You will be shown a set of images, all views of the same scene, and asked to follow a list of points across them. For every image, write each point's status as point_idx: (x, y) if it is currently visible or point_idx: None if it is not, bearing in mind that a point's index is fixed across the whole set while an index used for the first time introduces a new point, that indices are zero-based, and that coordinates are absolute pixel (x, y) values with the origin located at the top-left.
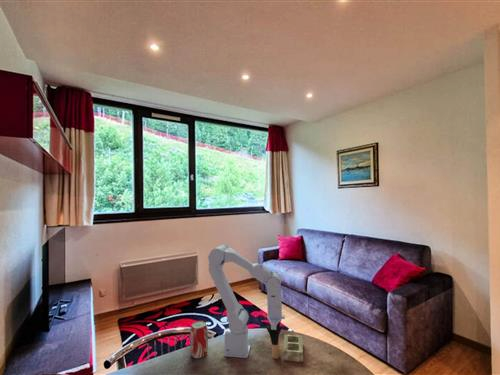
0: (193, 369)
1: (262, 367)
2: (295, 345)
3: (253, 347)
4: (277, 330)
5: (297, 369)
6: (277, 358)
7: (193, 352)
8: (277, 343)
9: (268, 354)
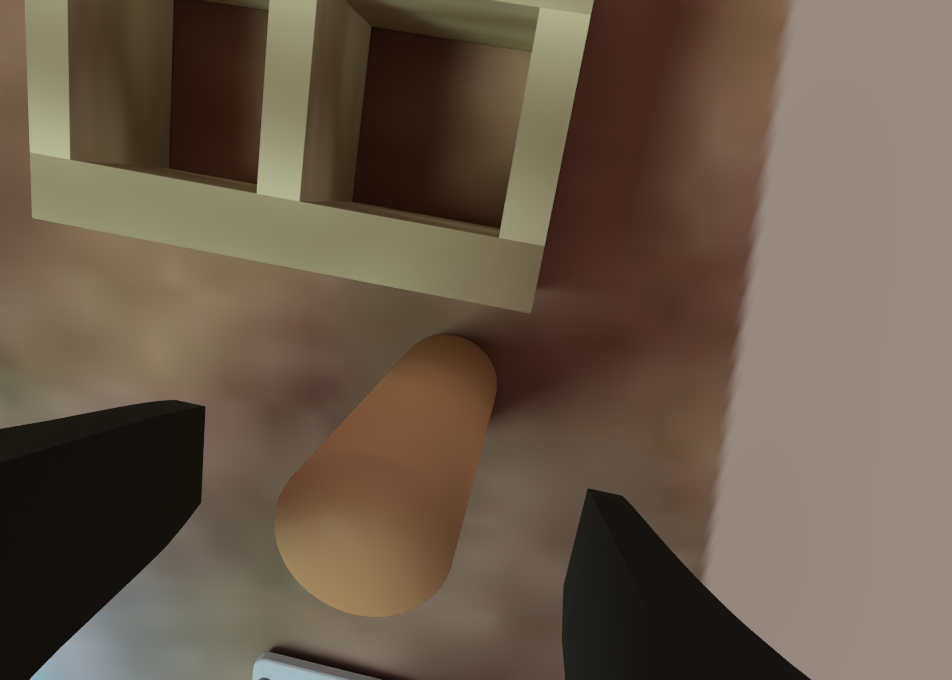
0: None
1: None
2: (326, 53)
3: (271, 614)
4: None
5: (750, 122)
6: (492, 366)
7: None
8: (640, 516)
9: None
